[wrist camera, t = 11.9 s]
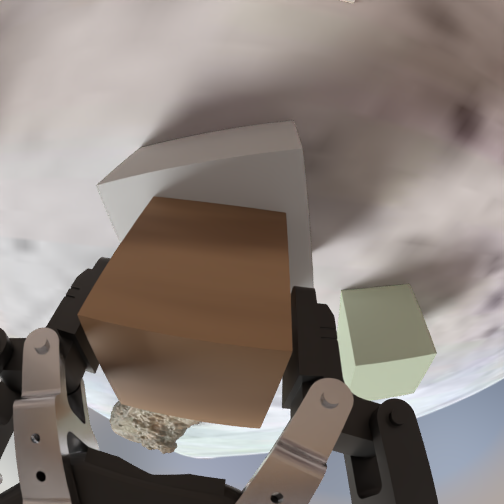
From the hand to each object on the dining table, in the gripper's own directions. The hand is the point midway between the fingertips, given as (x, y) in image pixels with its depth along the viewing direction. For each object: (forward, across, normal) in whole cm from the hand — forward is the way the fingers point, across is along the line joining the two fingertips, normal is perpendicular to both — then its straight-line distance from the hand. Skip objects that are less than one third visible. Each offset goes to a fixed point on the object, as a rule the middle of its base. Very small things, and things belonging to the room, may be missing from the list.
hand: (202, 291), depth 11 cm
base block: (+7, 0, 0) cm, 7 cm away
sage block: (+7, -11, +7) cm, 15 cm away
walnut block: (+2, 0, 0) cm, 2 cm away
